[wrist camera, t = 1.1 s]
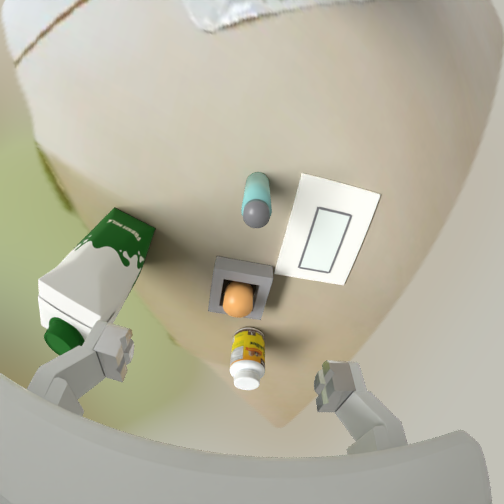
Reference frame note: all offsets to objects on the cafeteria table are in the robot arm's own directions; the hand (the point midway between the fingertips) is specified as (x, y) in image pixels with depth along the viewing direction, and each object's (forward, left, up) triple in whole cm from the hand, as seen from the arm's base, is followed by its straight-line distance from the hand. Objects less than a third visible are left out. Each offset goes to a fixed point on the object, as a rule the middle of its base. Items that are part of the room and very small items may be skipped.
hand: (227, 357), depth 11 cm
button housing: (+16, +2, -26) cm, 31 cm away
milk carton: (+12, -16, -26) cm, 33 cm away
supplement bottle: (+28, +5, -26) cm, 38 cm away
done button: (+16, +2, -24) cm, 29 cm away
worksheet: (+6, +12, -26) cm, 29 cm away
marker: (+1, +1, -26) cm, 26 cm away
